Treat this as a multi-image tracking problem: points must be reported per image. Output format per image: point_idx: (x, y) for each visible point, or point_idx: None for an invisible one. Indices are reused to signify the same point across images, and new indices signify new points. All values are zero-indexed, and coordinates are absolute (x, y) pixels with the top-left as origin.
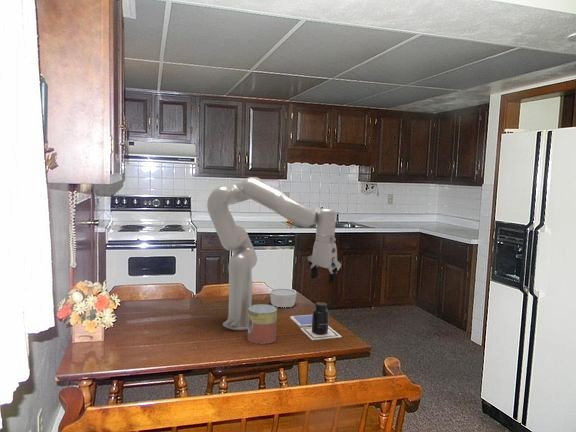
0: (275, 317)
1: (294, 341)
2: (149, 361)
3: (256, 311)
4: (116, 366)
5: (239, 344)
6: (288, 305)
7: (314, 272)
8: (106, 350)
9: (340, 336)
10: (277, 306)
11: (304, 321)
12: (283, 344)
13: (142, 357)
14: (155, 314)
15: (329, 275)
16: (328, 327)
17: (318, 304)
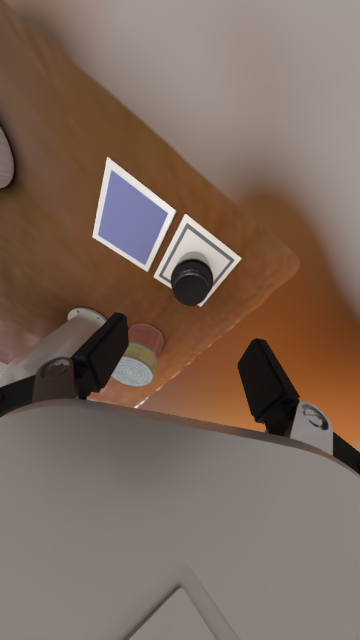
0: (153, 361)
1: (182, 324)
2: (131, 400)
3: (135, 383)
4: None
5: None
6: (7, 156)
7: (112, 360)
8: (99, 400)
9: (239, 260)
10: (4, 186)
11: (137, 245)
12: (178, 338)
13: (122, 399)
14: (21, 352)
15: (253, 408)
16: (193, 228)
17: (187, 301)
